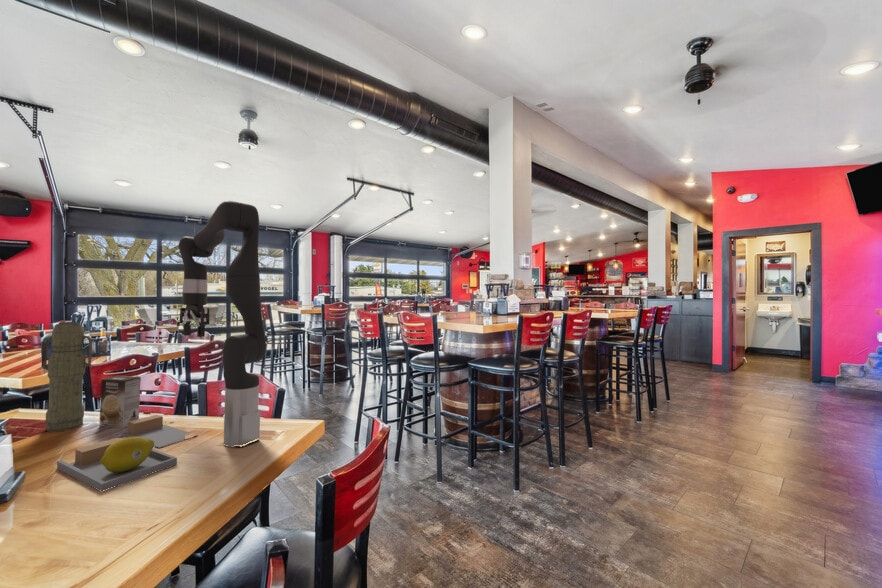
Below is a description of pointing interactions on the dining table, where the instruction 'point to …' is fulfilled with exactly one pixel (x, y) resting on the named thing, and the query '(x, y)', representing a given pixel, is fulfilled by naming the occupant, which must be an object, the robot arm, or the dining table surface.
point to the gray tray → (102, 479)
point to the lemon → (126, 454)
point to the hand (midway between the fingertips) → (193, 336)
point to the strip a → (155, 431)
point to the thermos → (66, 375)
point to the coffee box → (119, 400)
